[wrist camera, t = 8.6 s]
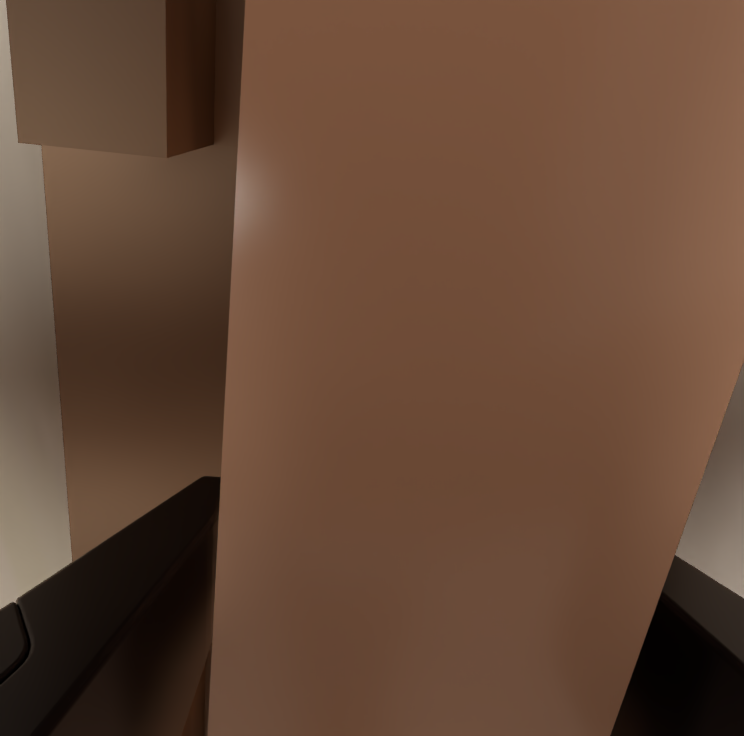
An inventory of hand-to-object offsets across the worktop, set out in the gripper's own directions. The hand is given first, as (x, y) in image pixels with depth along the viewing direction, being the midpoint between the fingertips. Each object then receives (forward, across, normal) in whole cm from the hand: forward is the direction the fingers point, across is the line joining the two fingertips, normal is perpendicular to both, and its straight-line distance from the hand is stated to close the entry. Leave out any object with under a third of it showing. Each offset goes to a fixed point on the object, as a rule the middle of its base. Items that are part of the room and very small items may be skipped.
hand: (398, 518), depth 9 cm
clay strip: (+2, 0, 0) cm, 2 cm away
